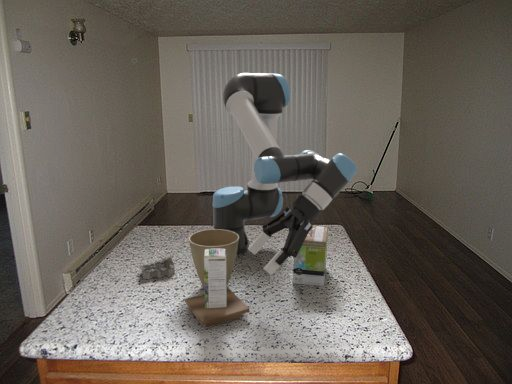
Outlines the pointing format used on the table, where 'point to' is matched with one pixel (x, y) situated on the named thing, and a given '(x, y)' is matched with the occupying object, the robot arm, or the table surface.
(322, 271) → the tea box
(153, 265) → the egg carton
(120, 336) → the table surface
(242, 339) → the table surface
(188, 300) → the stand
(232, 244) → the plant pot
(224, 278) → the syrup box
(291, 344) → the table surface
